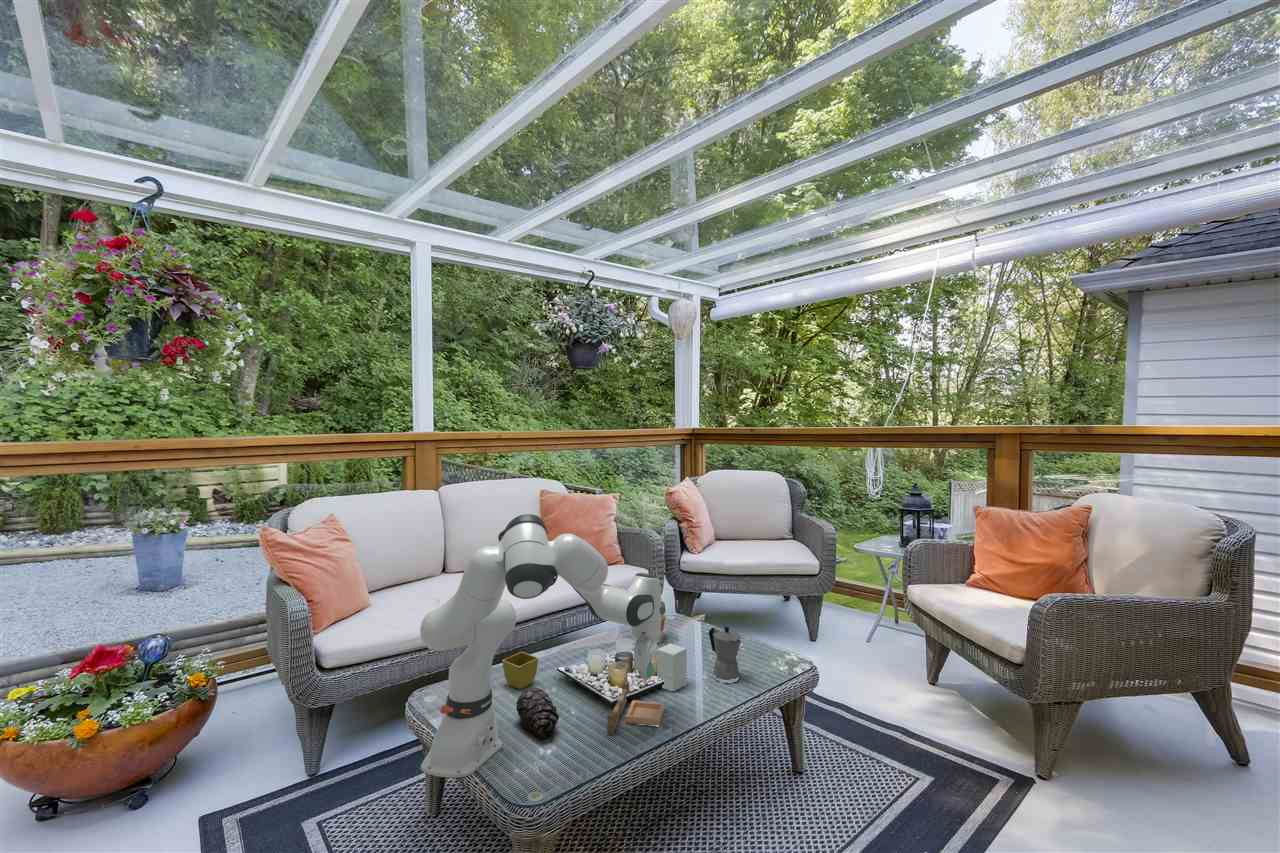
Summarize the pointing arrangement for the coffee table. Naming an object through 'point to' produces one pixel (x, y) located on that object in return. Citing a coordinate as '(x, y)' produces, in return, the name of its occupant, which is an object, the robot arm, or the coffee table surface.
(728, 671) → the coffeepot
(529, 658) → the flower pot
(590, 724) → the coffee table surface
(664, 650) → the supplement box
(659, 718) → the wooden tray
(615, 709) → the fence
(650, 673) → the ball
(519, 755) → the coffee table surface
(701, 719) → the coffee table surface
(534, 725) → the pine cone
